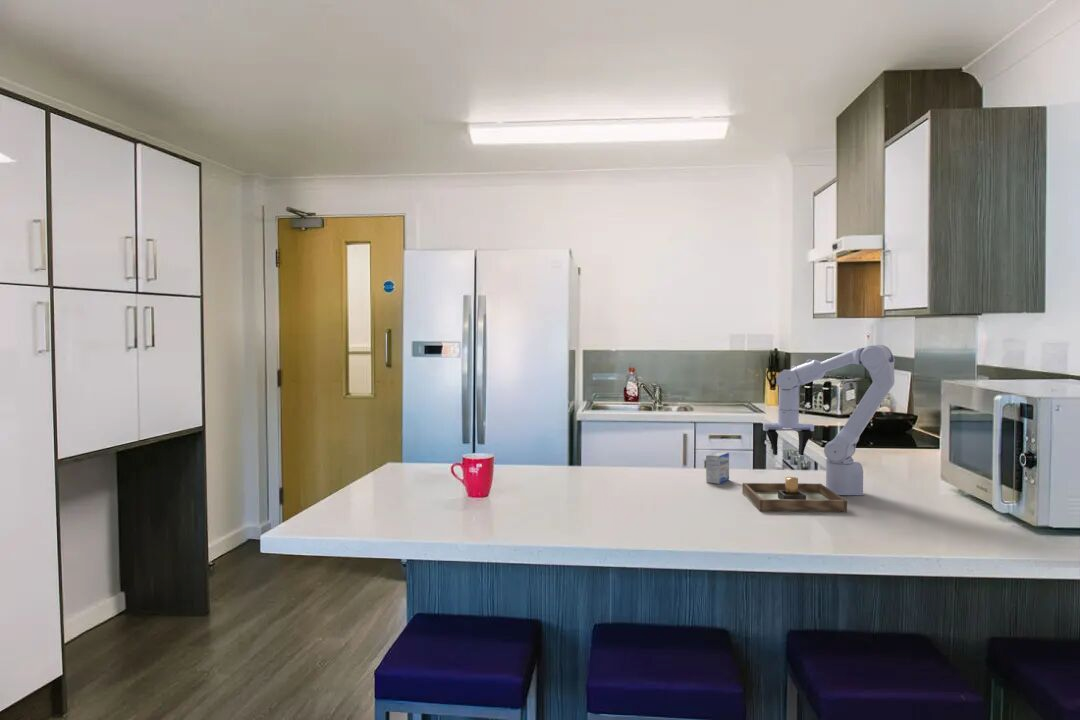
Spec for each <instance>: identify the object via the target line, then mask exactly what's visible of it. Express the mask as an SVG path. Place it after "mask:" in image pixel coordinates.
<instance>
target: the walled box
mask: <svg viewBox="0 0 1080 720" xmlns="http://www.w3.org/2000/svg"><path fill="white" fill-rule="evenodd" d="M741 485H742V487H741V488H742V489H741V490H742V492H741V493H742V495H743V496H744V497H745V498H746V499H747V500H748V501H749V502H750V503H751V504H752V505H753V506H754V507H755V508H756V510H758V511H759V512H773V513H774V512H776V513H777V512H778V513H782V512H783V513H786V512H787V513H789V512H790V513H792V512H793V513H848V500H846V499H845V498H844V497H842V496H841V495H837V494H836V493H834V492H833V491H831V490H830V489H828V488H827V487H826V485H824V484H822V483H805V482H804V483H803V482H801V483H799V482H798V495H785V482H783V483H781V482H775V483H773V482H742V484H741Z"/></svg>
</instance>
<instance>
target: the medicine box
mask: <svg viewBox="0 0 1080 720" xmlns="http://www.w3.org/2000/svg"><path fill="white" fill-rule="evenodd" d="M728 480H730V453H729V452H724V451H714V452H712V453H710V454H707V455H705V482H706V483H709V484H716V485H720V484H723V483H725V482H728Z"/></svg>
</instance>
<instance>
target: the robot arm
mask: <svg viewBox="0 0 1080 720" xmlns="http://www.w3.org/2000/svg"><path fill="white" fill-rule="evenodd" d="M895 362H896V359H895V356H894V355H893V353H892V350H891V349H890V348H889V347H888V346H886V345H884V344H877V345H873V344H872V345H868V346H865V347H861V348H854V349H851V350H849V351H846V352H843V353H840V354H839V355H836V356H833V357H831V358H828V359H826V360H823V361H820V360H817V359H813V360H812V358H811V359H810V358H809V359H807V360H806V361H805V363H802V364H799V365H797V366H796V365H792V366H791V367H790V369H782V370H781V371H779V372H778V373H777V375H776V378H775V382H776V384H777V386H778V418H777V419H778V422H777V423H776V422H775V423H763V424H762V430H763V431H764V432H765V434H766V435H767V438H768V440H769V441H770V446H771V449H772V454H773V456H778V440H779V433H778V432H779V431H783V432H785V431H788V432H789V431H793V432H795V431H796V432H797V433H798V434H797V435H798V455H800V456H804V453H805V449H806V447H807V443H808V442H809V440H810V437H811V436H812V432H814V431H815V424H814V423H799V416H800V415H799V409H800V405H799V401H800V394H799V393H800V391H799V388H800V386H803V385H807V384H809V383H811V382H814V381H817V380H820V379H821V380H822V379H823V378H824V377H825V374H826V373H827V372H830V371H833V370H835V369H839V368H842V367H845V366H847V365H851V364H852V365H853V364H854V365H863V367H864V368H865V369H866V370H867V371H868V373H869V376H870V378H871V381H872V383H871V384H870V386H869V387H868V389H867V390H866V392H865V393H864V395H863V397H862V398H861V400H860V401H859V402H858V403H857V406H856V407H855V409H853V410H854V411H853V412H852V413H851V415H850V416H849V418H848V420H847V421H846V423H845V424H844V426H843V427H842V428H841V430H839V432H838V433H837V434H836V435H835V436H834V438H833V439H832V440H830V441H828V442H827V443H826V444H825V445H824V449H823V452H824V453H823V454H824V456H825V457H826V462H825V468H826V469H825V487H827V488H828V489H830V490H831V491H833V492H834V493H836V494H837V495H839V496H864V495H865V493H864V469H863V465H862V464H861V463H860V462H858V461H857V462H856V461H855V462H854V459H853V457H852V456H853V455H854V454H855V452H856V449H857V448H856V447H857V443H858V442H859V441H860V436H861V434H862V433H863V432H864V430H865V428H867V425H868V424H869V423H870V421H871V420H872V418H873V417H874V415H875V414H876V412H877V411H878V409H879V407H880V406H881V405H882V403H883V402H884V400H885V399H886V397H887V396H888V394H889V392H890V391H891V390H892V388H893V386H894V384H895Z"/></svg>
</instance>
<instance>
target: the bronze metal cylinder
mask: <svg viewBox="0 0 1080 720" xmlns="http://www.w3.org/2000/svg"><path fill="white" fill-rule="evenodd" d="M784 483H785V495H798V483H799V477H793V476H786V477H785V482H784Z"/></svg>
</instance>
